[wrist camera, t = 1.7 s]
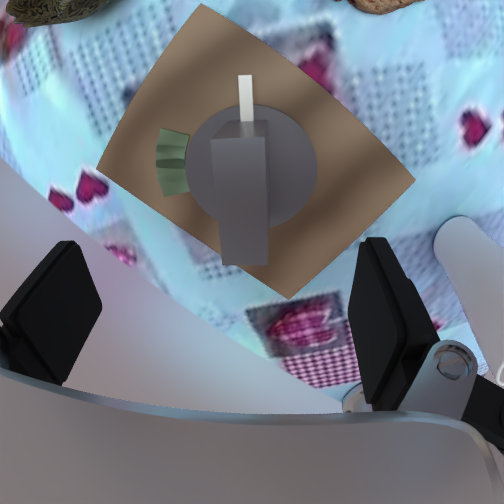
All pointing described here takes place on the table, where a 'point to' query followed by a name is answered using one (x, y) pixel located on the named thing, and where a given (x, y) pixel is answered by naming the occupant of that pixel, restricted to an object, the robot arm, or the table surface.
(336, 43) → the table surface
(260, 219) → the tuning knob
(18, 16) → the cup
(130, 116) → the wooden board
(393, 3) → the cookie
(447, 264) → the drinking glass
